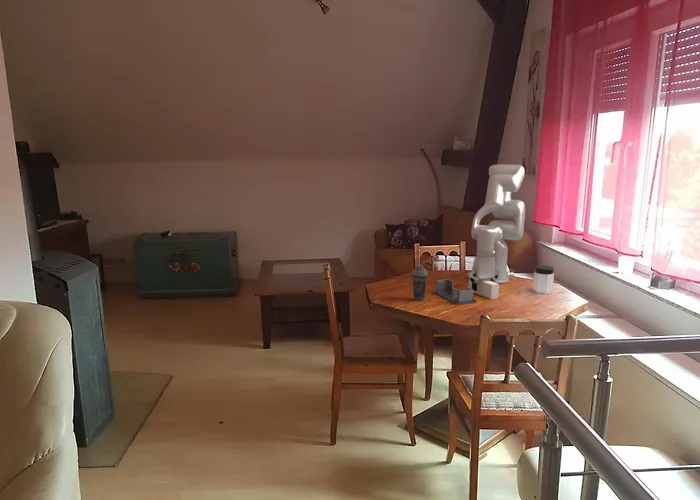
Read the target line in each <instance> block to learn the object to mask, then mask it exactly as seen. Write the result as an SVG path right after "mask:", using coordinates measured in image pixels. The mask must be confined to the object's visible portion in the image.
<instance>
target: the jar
mask: <svg viewBox="0 0 700 500" xmlns="http://www.w3.org/2000/svg"><path fill="white" fill-rule="evenodd" d="M533 273H534V275H533V290H532V291H534V292H535V293H537V294H545V295H546V294H547V295H549V294H552V293H553V291H554V280H555V279H554V278H555V273H554V267H553V266H550V265H549V266H548V265H537V266H535V271H534V272H533Z"/></svg>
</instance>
